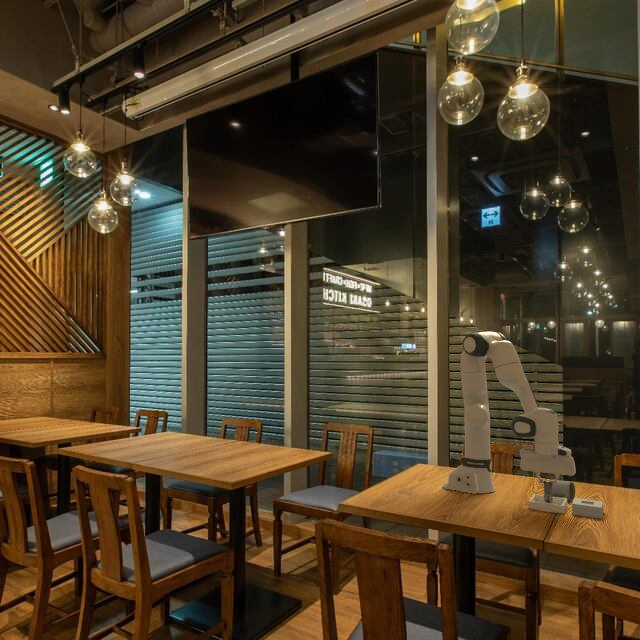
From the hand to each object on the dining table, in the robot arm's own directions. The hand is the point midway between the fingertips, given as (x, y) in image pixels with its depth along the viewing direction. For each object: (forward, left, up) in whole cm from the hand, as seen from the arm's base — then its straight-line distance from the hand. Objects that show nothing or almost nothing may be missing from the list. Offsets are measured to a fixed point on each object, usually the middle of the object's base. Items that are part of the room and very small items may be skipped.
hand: (547, 484), depth 206 cm
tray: (0, 0, -9) cm, 9 cm away
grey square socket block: (+14, 0, -9) cm, 17 cm away
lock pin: (0, 0, -7) cm, 7 cm away
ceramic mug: (+3, +16, -9) cm, 19 cm away
